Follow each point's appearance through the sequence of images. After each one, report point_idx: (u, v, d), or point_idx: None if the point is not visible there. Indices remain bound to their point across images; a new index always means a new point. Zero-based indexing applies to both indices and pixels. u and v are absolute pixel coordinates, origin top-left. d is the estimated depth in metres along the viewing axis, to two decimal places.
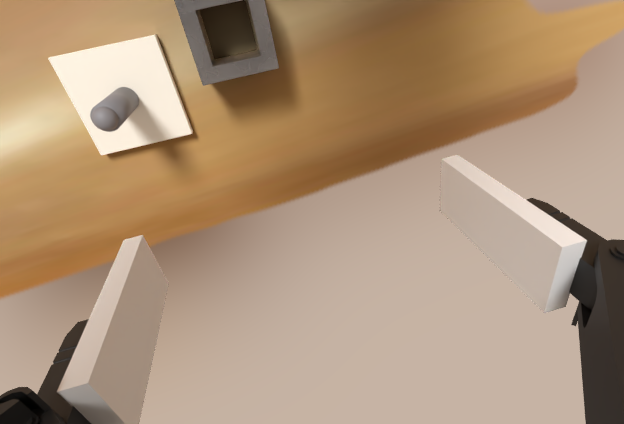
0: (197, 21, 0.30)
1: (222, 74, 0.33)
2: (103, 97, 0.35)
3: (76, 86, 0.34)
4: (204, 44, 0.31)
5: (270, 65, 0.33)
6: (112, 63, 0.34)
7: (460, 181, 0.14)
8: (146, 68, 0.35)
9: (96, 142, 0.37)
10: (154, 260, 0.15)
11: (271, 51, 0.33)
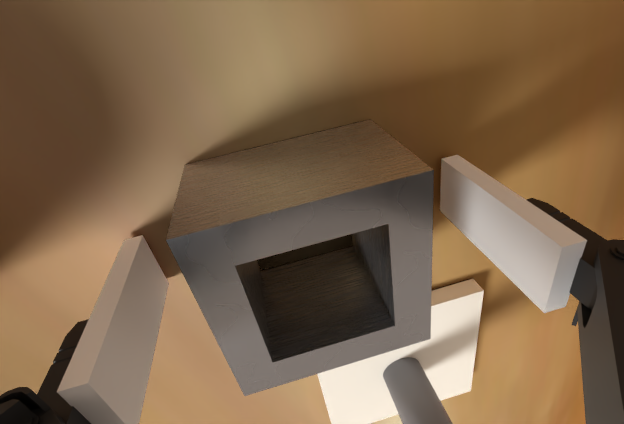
0: (296, 356, 0.12)
1: (416, 306, 0.12)
2: None
3: (373, 413, 0.23)
4: (345, 342, 0.13)
5: (421, 195, 0.10)
6: (348, 384, 0.21)
7: (460, 181, 0.14)
8: None
9: (452, 395, 0.24)
10: (154, 260, 0.15)
11: (380, 195, 0.10)
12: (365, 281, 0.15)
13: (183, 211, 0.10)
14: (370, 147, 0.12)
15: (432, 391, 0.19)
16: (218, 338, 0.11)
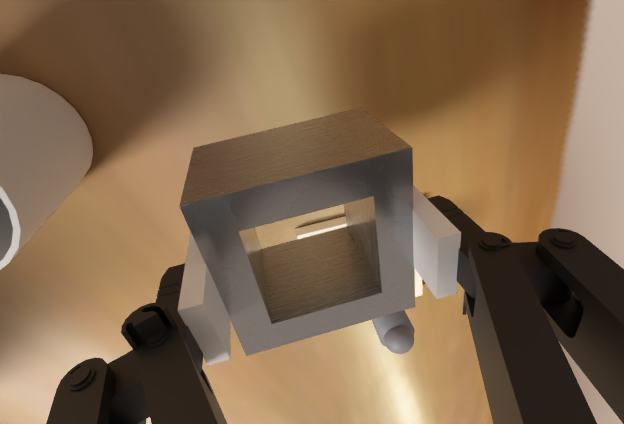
0: (292, 319, 0.14)
1: (400, 275, 0.14)
2: None
3: None
4: (337, 307, 0.14)
5: (402, 170, 0.11)
6: None
7: None
8: None
9: None
10: None
11: (366, 170, 0.11)
12: (357, 256, 0.16)
13: (193, 184, 0.12)
14: (359, 130, 0.13)
15: None
16: (223, 299, 0.13)
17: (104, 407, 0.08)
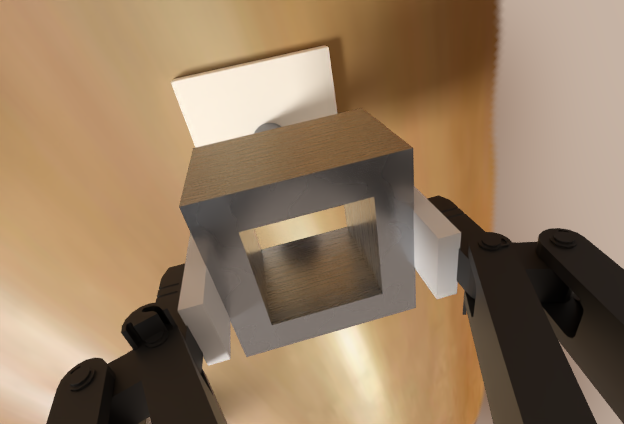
0: (293, 320, 0.14)
1: (401, 276, 0.14)
2: None
3: None
4: (337, 308, 0.14)
5: (403, 171, 0.11)
6: None
7: None
8: (223, 103, 0.22)
9: None
10: None
11: (366, 170, 0.11)
12: (357, 257, 0.16)
13: (193, 184, 0.12)
14: (359, 131, 0.13)
15: None
16: (223, 300, 0.13)
17: (104, 407, 0.08)
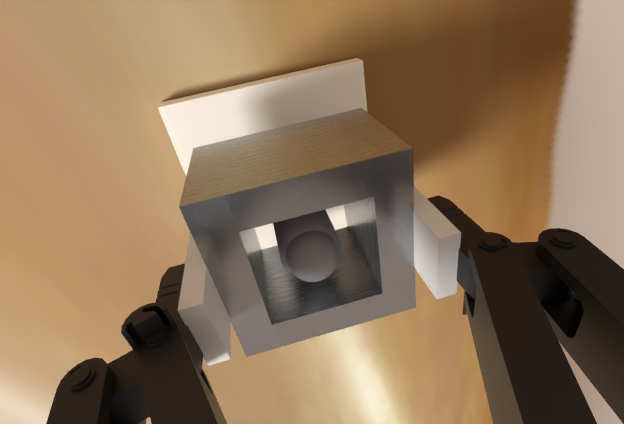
0: (292, 320, 0.14)
1: (401, 275, 0.14)
2: None
3: (264, 241, 0.21)
4: (337, 308, 0.14)
5: (402, 171, 0.11)
6: None
7: None
8: (226, 133, 0.17)
9: None
10: None
11: (366, 170, 0.11)
12: (357, 257, 0.16)
13: (193, 184, 0.12)
14: (359, 131, 0.13)
15: None
16: (223, 300, 0.13)
17: (104, 407, 0.08)
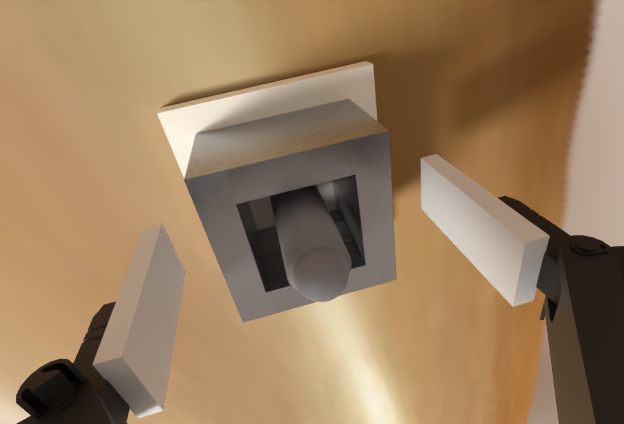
0: (284, 288, 0.15)
1: (382, 248, 0.15)
2: None
3: None
4: None
5: (380, 151, 0.13)
6: None
7: (437, 179, 0.14)
8: None
9: None
10: (172, 248, 0.15)
11: (348, 150, 0.13)
12: (344, 235, 0.18)
13: (196, 163, 0.13)
14: (344, 118, 0.14)
15: None
16: (222, 267, 0.14)
17: None
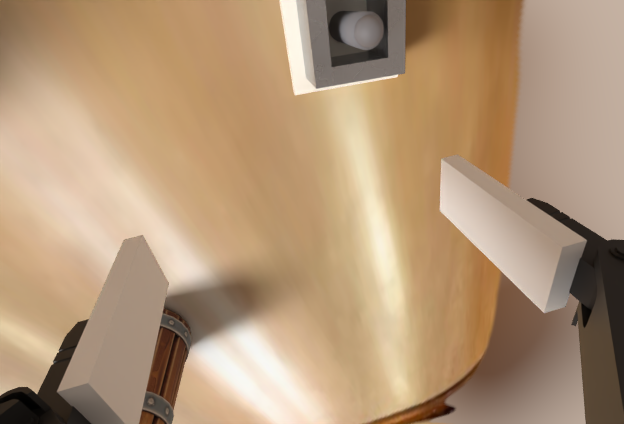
0: (342, 66, 0.27)
1: (398, 46, 0.27)
2: (337, 52, 0.31)
3: None
4: (364, 63, 0.27)
5: None
6: None
7: (460, 181, 0.14)
8: None
9: (383, 77, 0.33)
10: (154, 260, 0.15)
11: None
12: (374, 54, 0.30)
13: None
14: None
15: None
16: (311, 42, 0.26)
17: None
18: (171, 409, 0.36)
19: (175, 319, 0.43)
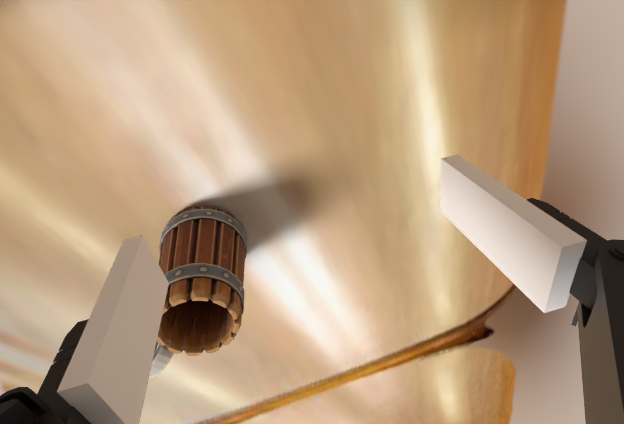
0: None
1: None
2: None
3: None
4: None
5: None
6: None
7: (460, 181, 0.14)
8: None
9: None
10: (154, 260, 0.15)
11: None
12: None
13: None
14: None
15: None
16: None
17: None
18: (243, 289, 0.37)
19: (233, 219, 0.43)
